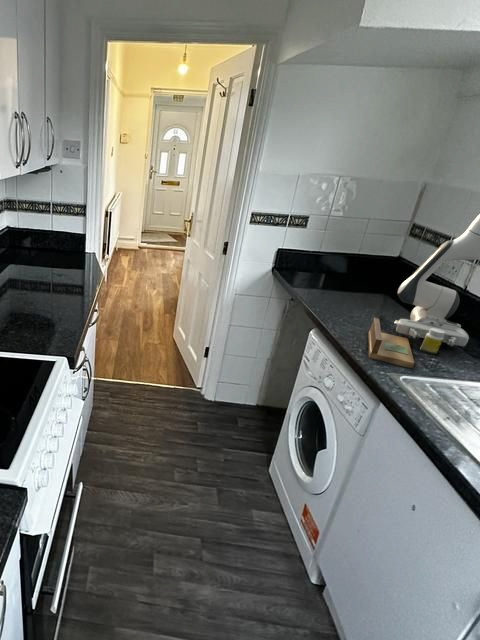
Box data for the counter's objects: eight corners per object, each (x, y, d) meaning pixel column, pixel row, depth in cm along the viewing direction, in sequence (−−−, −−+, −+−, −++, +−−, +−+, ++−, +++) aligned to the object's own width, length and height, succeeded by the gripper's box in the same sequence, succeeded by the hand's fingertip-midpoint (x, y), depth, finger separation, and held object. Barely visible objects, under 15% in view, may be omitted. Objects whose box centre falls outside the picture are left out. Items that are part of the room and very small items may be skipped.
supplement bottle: (437, 356, 140) (447, 335, 137) (420, 352, 142) (430, 331, 139) (434, 351, 144) (444, 329, 141) (418, 347, 146) (428, 326, 142)
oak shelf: (405, 343, 149) (412, 325, 146) (412, 368, 131) (420, 349, 129) (367, 334, 154) (373, 317, 152) (368, 357, 137) (375, 339, 134)
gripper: (397, 312, 155) (400, 324, 144) (466, 325, 146) (474, 339, 135) (391, 327, 158) (394, 340, 147) (458, 341, 149) (467, 356, 137)
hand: (433, 340), depth 141 cm, fingers open, 8 cm apart
